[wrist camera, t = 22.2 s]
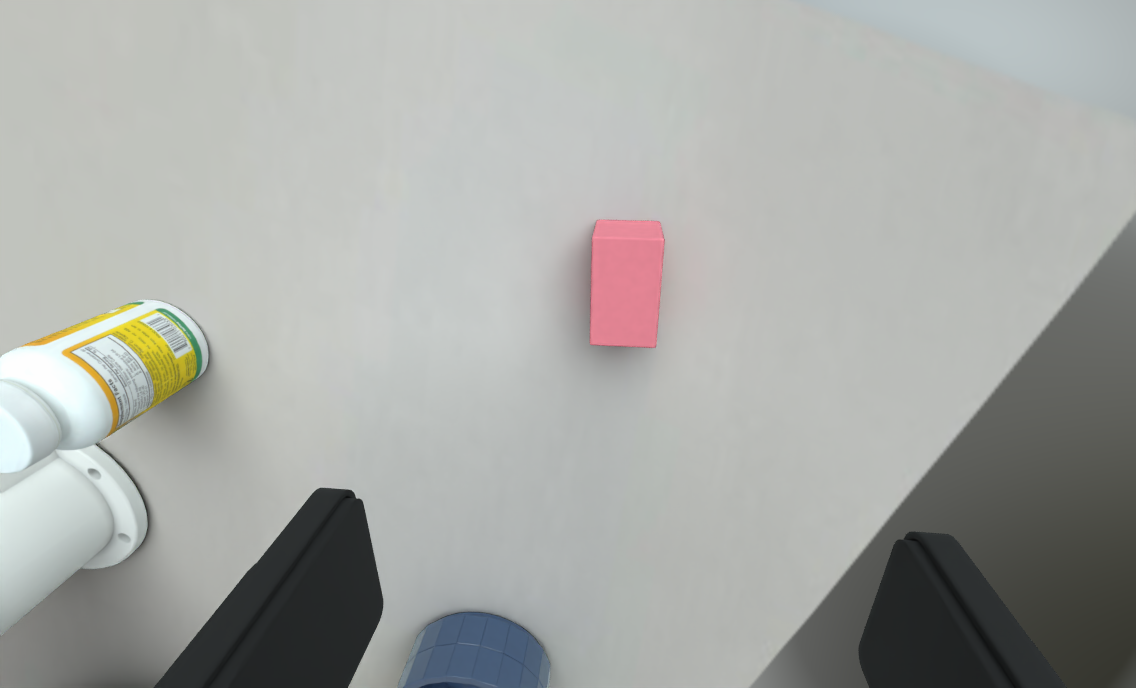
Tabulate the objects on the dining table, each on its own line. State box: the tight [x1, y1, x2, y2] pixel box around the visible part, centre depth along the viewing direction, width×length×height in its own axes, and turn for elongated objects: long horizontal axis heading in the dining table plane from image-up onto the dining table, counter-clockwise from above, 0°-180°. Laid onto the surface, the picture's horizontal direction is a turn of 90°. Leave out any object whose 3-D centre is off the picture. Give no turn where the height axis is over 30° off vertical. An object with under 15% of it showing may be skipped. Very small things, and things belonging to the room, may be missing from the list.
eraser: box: [590, 220, 665, 348], centre depth 24 cm, size 5×3×4 cm, turn 0°
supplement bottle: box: [0, 300, 209, 473], centre depth 26 cm, size 5×5×10 cm
